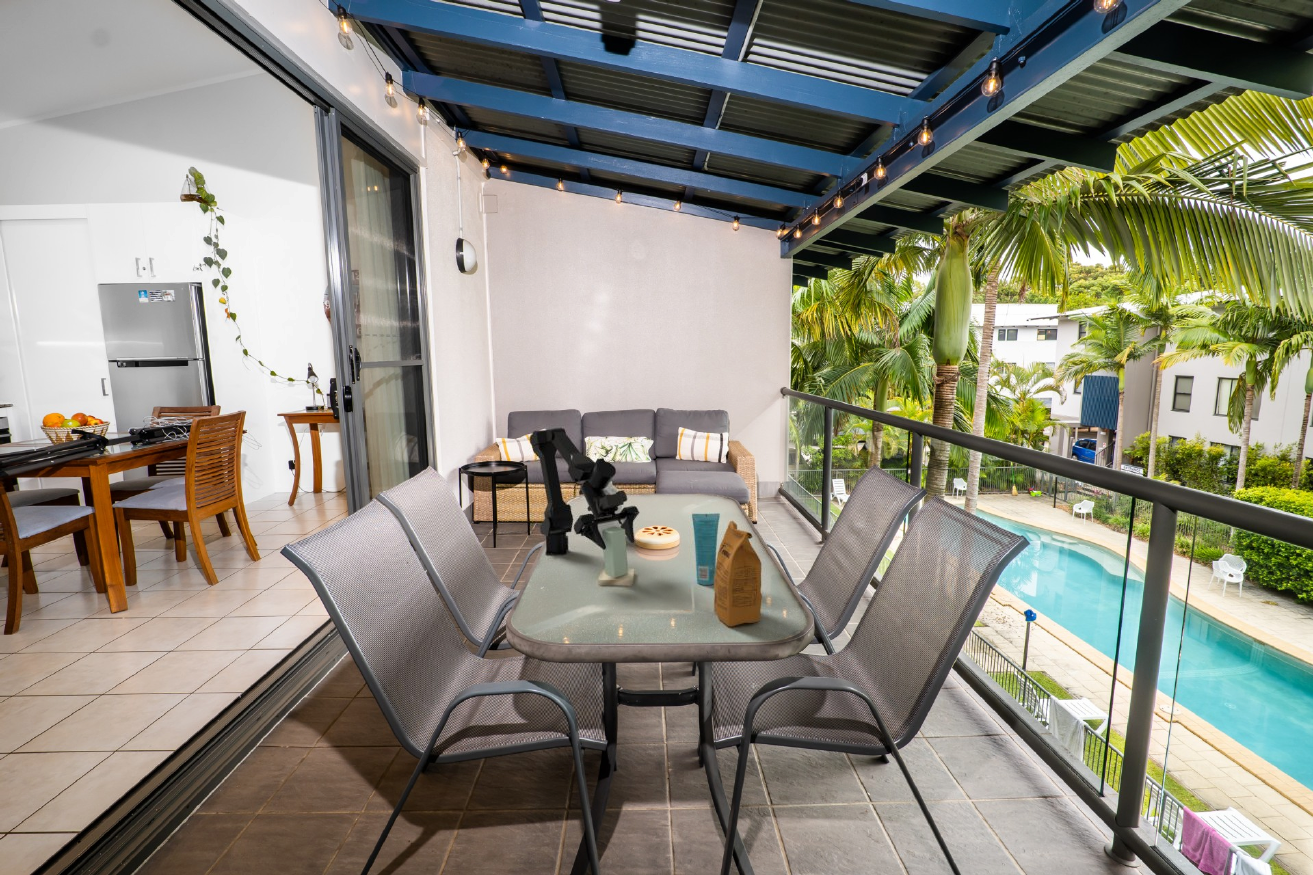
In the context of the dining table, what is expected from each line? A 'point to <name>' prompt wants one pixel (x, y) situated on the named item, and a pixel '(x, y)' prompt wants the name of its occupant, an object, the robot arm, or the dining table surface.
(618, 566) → the post
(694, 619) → the dining table surface
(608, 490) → the milk carton
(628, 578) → the slab top
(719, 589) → the coffee package
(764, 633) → the dining table surface
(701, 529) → the tube
